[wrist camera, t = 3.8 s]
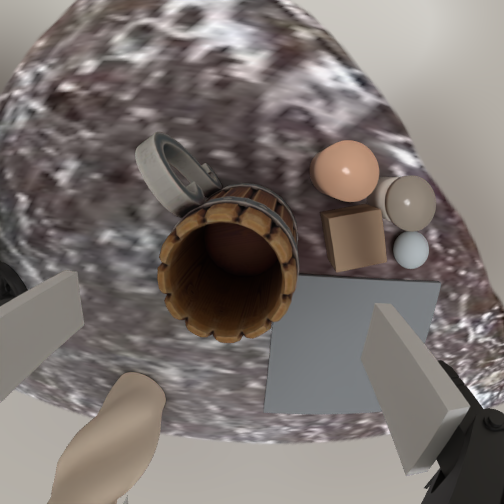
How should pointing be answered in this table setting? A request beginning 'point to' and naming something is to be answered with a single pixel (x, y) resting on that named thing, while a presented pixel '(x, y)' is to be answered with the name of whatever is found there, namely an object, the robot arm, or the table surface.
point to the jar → (404, 201)
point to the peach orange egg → (345, 171)
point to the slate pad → (336, 341)
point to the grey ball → (411, 249)
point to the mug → (220, 246)
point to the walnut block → (354, 237)
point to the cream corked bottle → (112, 445)
